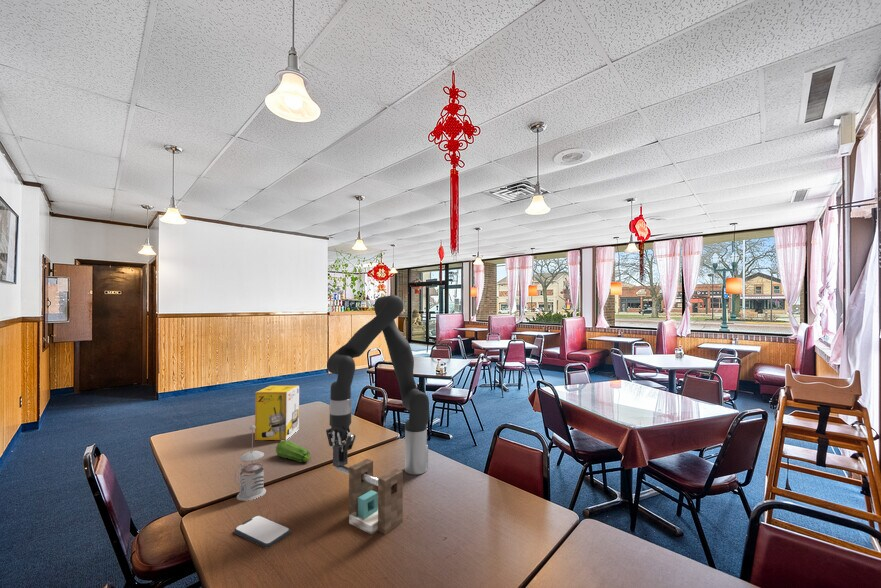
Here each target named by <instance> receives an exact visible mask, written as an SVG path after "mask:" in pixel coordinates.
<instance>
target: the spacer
mask: <svg viewBox="0 0 881 588" xmlns="http://www.w3.org/2000/svg"><path fill="white" fill-rule="evenodd" d="M377 511H378V491H375V490H374V489H373V490H370V491H369V492H367V493H365V494H363V495H362V496H360V497H358V517H360V518H362V519H366V518H367V517H369V516H370V515H372V514H373V513H375V512H377Z"/></svg>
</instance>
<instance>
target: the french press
mask: <svg viewBox="0 0 881 588" xmlns="http://www.w3.org/2000/svg"><path fill="white" fill-rule="evenodd" d="M255 428H256V427H255V424H253V425H251V426H249V429H250V430H251V433H252V434H251V437H252V438H251V439H252V440H251V451H247V452H246V453H244V454H242V455H241V456H239V460H240V461H241V462H245V463H248V462H251V463H248V464H246V465H245V464H242V463H241V464H239V466H237V468H236V470H235V473H234V483H235V484H236V485H237V486H239V493H237V495H236V500H238V501H243V502H247V501H248V500H249V501H253V499H254V500H256V498H257V499H259V498H261V497H263V496H264V495H265V494H266V492H267V489H266V488H265V487H264V483H265V481H264V476H265V472H264V471H265V470H264V467H263V466H264V465H263V463H257V462H254V461H257V460H260V459H262V458H263V457H264V456H265V453H264V452H262V451H259V450H254V449H253V445H254V444H253V443H254V442H253V440H254V430H255ZM253 462H254V463H253ZM240 467H241V468H240ZM239 468H240V470H239V472H238V469H239ZM237 472H238V476H236V475H237ZM248 474H249V475H248ZM236 477H237V478H236ZM236 479H237V480H236ZM237 481H238V482H237ZM238 483H239V484H238ZM260 496H261V497H260ZM258 497H259V498H258Z"/></svg>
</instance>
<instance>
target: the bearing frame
mask: <svg viewBox="0 0 881 588" xmlns="http://www.w3.org/2000/svg"><path fill="white" fill-rule="evenodd" d="M403 472H404V471H403V470H401V469H398V468H394V469H392V470H391V471H389V472H387V473H385V474H383V475H381V476H378V486H377V493H378V511H377V512H375V513H373V514H372V515H370V516H369V517H367V518H366V519H362V518H360V517H358V497H360V496H362V495H363V494H365V493H367V492H369V491H370V490H373V491H374V484H371V483H369V482H366V481H364V480H361V474H363V473H365V474H367V475H370V476H372V477H374V460H372V459H369V458H366V459H364V460H362V461H359V462H357V463H354V464H352V465H351V466H350V465H349V474H348V523H349V524H350V525H352V526H354V527H355V528H357V529H360V530H362V531H363V532H365V533H367V534H369V535H371V536H372V535H374V534H375V533H377V532H379V533H381V534H383V535H386V534H389V533H390V532H391V531H392V530H393V529H394V528H396V527H398V526H399V525H400V524H402V523H403V519H404V516H403V515H404V512H403V511H404V510H403V509H404V508H403V506H404V504H403V501H404V500H403V499H404V498H403V494H404V493H403V491H404V490H403V489H404V486H403V485H404V483H403V482H404V481H403V480H404V478H403V476H404V473H403ZM391 486H392V488H391Z"/></svg>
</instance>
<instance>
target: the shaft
mask: <svg viewBox="0 0 881 588" xmlns="http://www.w3.org/2000/svg"><path fill="white" fill-rule="evenodd" d="M343 446H344V447H345V444H344V445H343ZM348 451H349V450H348ZM348 451H347V460H346V461H345V462H343V463H342V462H341V448H340V445H339V443H338V444H336V445H333V448H332V466H333V467H334V469H335V470H337V471H339V472H341V473H345V474H347V475H349V467H350V466H349V467H348V466H346V465H348V458H349V457H348V454H349V452H348ZM378 478H379V477H378ZM378 478H377V477H376V476H373V477H372V476H370V475H367V474H365V473H363V474H361V480H364V481H366V482H369V483H371V484H373V486H377V487H378ZM391 488H392V486H391Z"/></svg>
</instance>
